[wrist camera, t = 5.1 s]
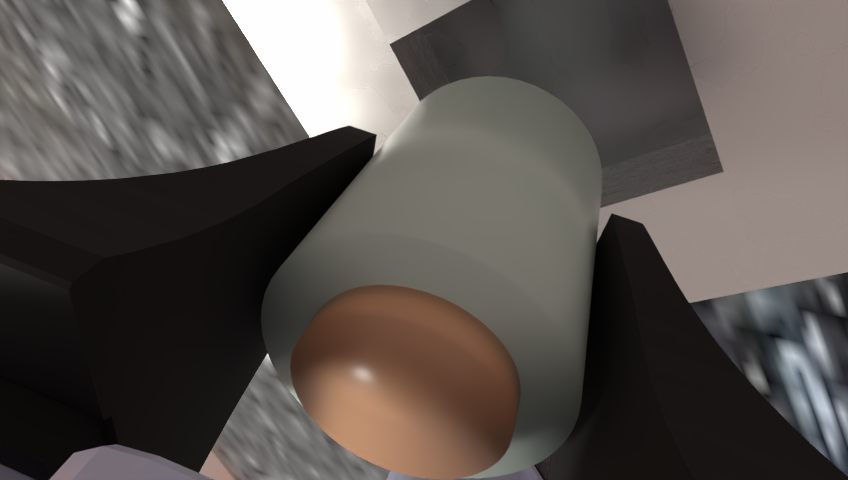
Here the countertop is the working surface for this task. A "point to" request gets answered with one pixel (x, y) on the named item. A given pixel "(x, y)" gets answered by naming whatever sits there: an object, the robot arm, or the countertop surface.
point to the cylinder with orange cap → (449, 288)
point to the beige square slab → (619, 107)
